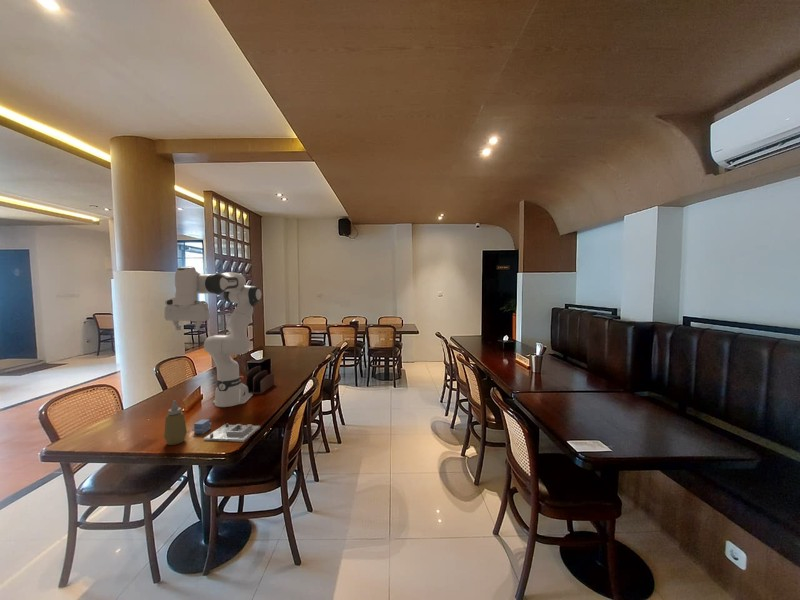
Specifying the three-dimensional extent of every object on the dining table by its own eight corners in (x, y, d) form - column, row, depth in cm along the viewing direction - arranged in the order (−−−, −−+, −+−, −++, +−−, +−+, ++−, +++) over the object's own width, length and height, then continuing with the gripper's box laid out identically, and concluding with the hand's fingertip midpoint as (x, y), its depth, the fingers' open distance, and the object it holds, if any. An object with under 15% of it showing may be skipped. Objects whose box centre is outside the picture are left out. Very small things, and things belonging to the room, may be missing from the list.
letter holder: (245, 394, 204) (244, 371, 203) (259, 384, 224) (259, 364, 223) (261, 394, 204) (260, 371, 203) (274, 384, 224) (273, 364, 223)
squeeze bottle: (171, 438, 145) (170, 397, 144) (191, 437, 145) (189, 397, 145) (159, 447, 137) (158, 404, 136) (180, 446, 137) (178, 403, 136)
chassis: (224, 426, 156) (223, 420, 156) (260, 427, 155) (260, 422, 155) (204, 440, 143) (203, 434, 142) (243, 441, 141) (243, 435, 141)
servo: (204, 427, 156) (203, 418, 156) (212, 427, 155) (211, 418, 155) (192, 434, 148) (192, 424, 148) (200, 435, 148) (200, 425, 148)
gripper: (212, 300, 157) (212, 329, 158) (172, 300, 159) (173, 329, 159) (202, 301, 151) (203, 331, 151) (161, 301, 153) (162, 330, 153)
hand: (187, 330), depth 155 cm, fingers open, 8 cm apart
